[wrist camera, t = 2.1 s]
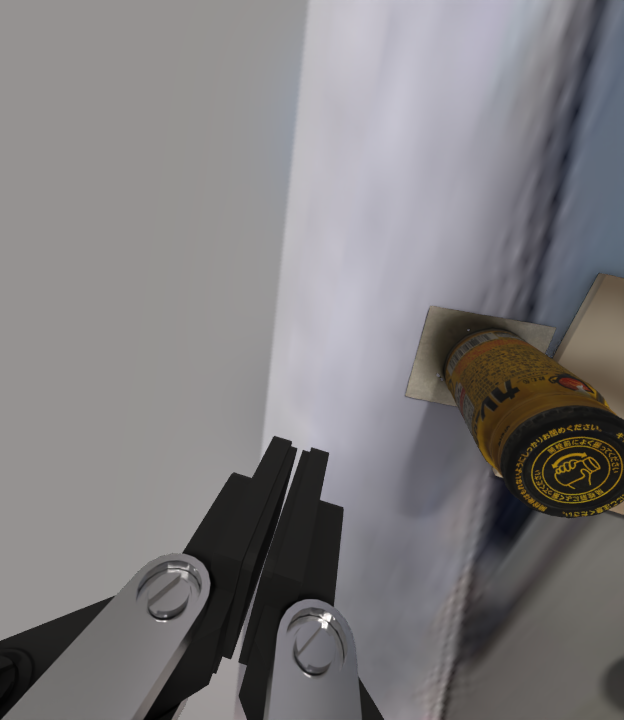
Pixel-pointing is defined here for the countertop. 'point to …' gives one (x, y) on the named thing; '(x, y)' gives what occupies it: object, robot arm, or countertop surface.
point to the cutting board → (598, 345)
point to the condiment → (524, 411)
